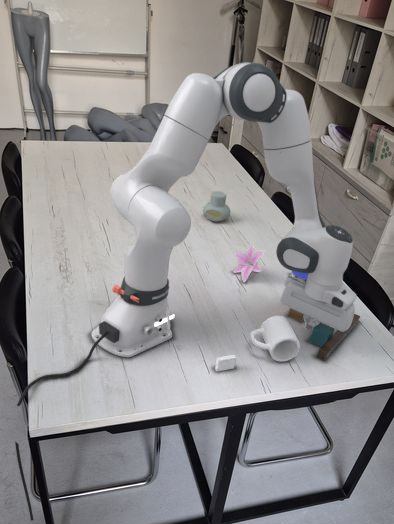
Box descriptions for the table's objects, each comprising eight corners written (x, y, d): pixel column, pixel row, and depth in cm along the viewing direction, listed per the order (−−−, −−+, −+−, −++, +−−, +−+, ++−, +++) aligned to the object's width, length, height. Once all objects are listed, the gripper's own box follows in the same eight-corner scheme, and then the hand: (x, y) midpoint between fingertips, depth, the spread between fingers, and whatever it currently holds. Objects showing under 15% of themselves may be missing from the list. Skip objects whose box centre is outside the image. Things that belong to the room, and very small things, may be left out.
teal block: (323, 348, 135) (328, 335, 132) (309, 341, 136) (313, 328, 134) (330, 341, 138) (334, 328, 135) (315, 334, 139) (320, 321, 136)
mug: (285, 338, 137) (291, 314, 131) (296, 361, 129) (303, 337, 124) (244, 339, 134) (248, 315, 129) (253, 363, 127) (258, 339, 122)
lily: (231, 265, 167) (226, 247, 159) (265, 255, 166) (261, 236, 158) (238, 292, 161) (233, 275, 153) (273, 282, 160) (269, 264, 151)
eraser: (234, 368, 124) (236, 357, 122) (216, 371, 123) (218, 360, 120) (232, 365, 125) (234, 354, 123) (214, 368, 124) (216, 357, 121)
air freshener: (199, 219, 191) (202, 194, 185) (205, 211, 197) (208, 187, 191) (226, 225, 189) (230, 200, 183) (231, 217, 195) (235, 193, 189)
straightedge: (324, 361, 130) (326, 354, 129) (316, 357, 131) (318, 350, 130) (358, 322, 146) (360, 316, 145) (350, 319, 147) (353, 312, 146)
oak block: (301, 322, 143) (304, 309, 141) (287, 315, 145) (291, 303, 142) (308, 315, 146) (311, 303, 143) (294, 309, 148) (298, 297, 145)
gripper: (282, 276, 131) (272, 318, 139) (353, 307, 122) (337, 349, 131) (293, 268, 135) (282, 309, 144) (362, 297, 126) (346, 339, 135)
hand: (309, 328), depth 137 cm, fingers closed
